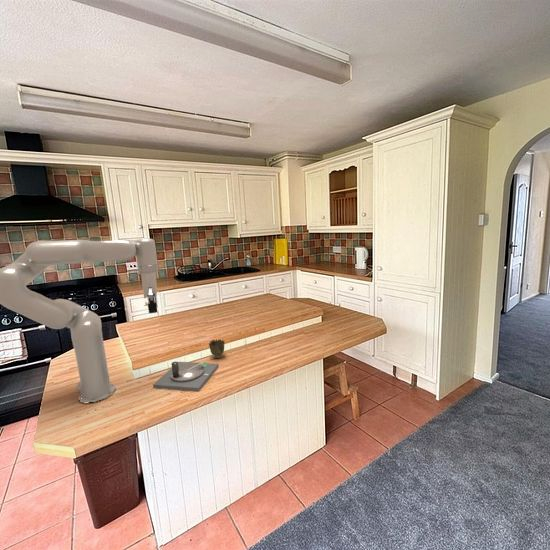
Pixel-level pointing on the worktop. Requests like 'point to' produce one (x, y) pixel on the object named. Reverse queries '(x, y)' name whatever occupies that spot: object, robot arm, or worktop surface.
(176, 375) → the dial
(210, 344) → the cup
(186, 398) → the worktop surface
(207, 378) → the plate
